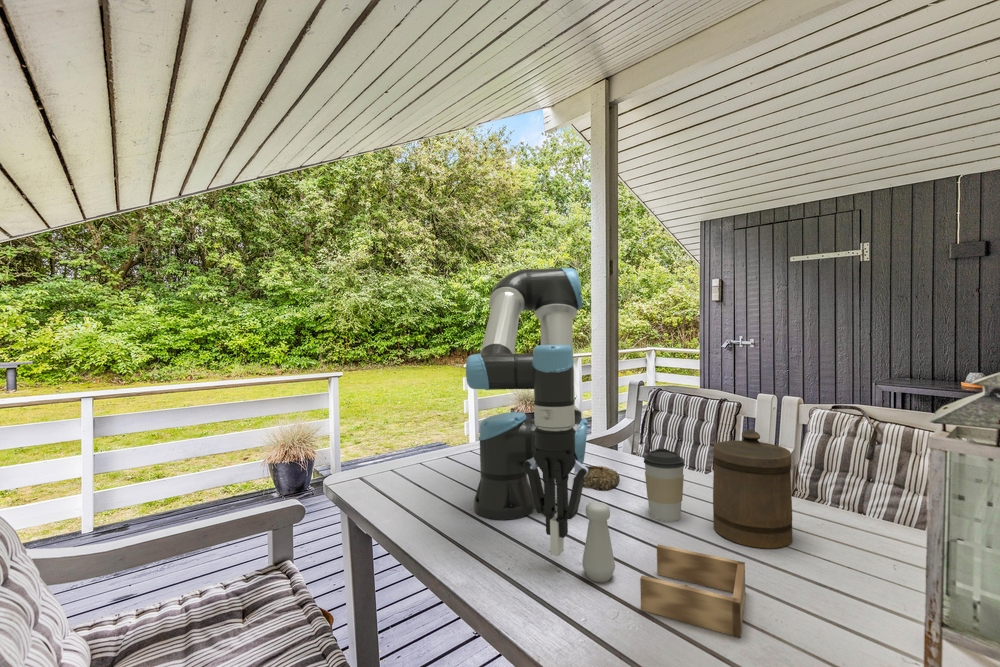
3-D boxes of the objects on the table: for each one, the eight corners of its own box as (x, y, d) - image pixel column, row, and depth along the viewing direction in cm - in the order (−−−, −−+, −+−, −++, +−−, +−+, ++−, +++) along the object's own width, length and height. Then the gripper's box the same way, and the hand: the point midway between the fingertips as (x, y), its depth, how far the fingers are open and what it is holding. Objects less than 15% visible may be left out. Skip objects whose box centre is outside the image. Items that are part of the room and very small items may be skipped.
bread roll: (625, 480, 136) (624, 463, 136) (610, 494, 126) (610, 475, 125) (583, 474, 143) (583, 458, 143) (566, 486, 132) (566, 468, 132)
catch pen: (640, 609, 74) (640, 578, 73) (658, 571, 85) (657, 544, 85) (740, 637, 66) (740, 602, 66) (745, 592, 78) (744, 562, 78)
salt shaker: (579, 581, 82) (577, 508, 82) (585, 565, 87) (584, 496, 87) (613, 587, 80) (611, 512, 80) (617, 571, 85) (616, 500, 85)
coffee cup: (689, 524, 104) (687, 458, 104) (646, 522, 106) (645, 456, 106) (681, 509, 113) (680, 447, 113) (642, 507, 115) (641, 446, 115)
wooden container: (806, 536, 97) (804, 431, 97) (769, 556, 89) (766, 442, 89) (737, 513, 110) (735, 420, 110) (699, 529, 102) (697, 429, 102)
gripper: (514, 427, 87) (517, 553, 87) (580, 433, 81) (583, 569, 81) (532, 420, 94) (534, 538, 94) (594, 426, 87) (597, 552, 87)
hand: (557, 552), depth 87 cm, fingers closed
